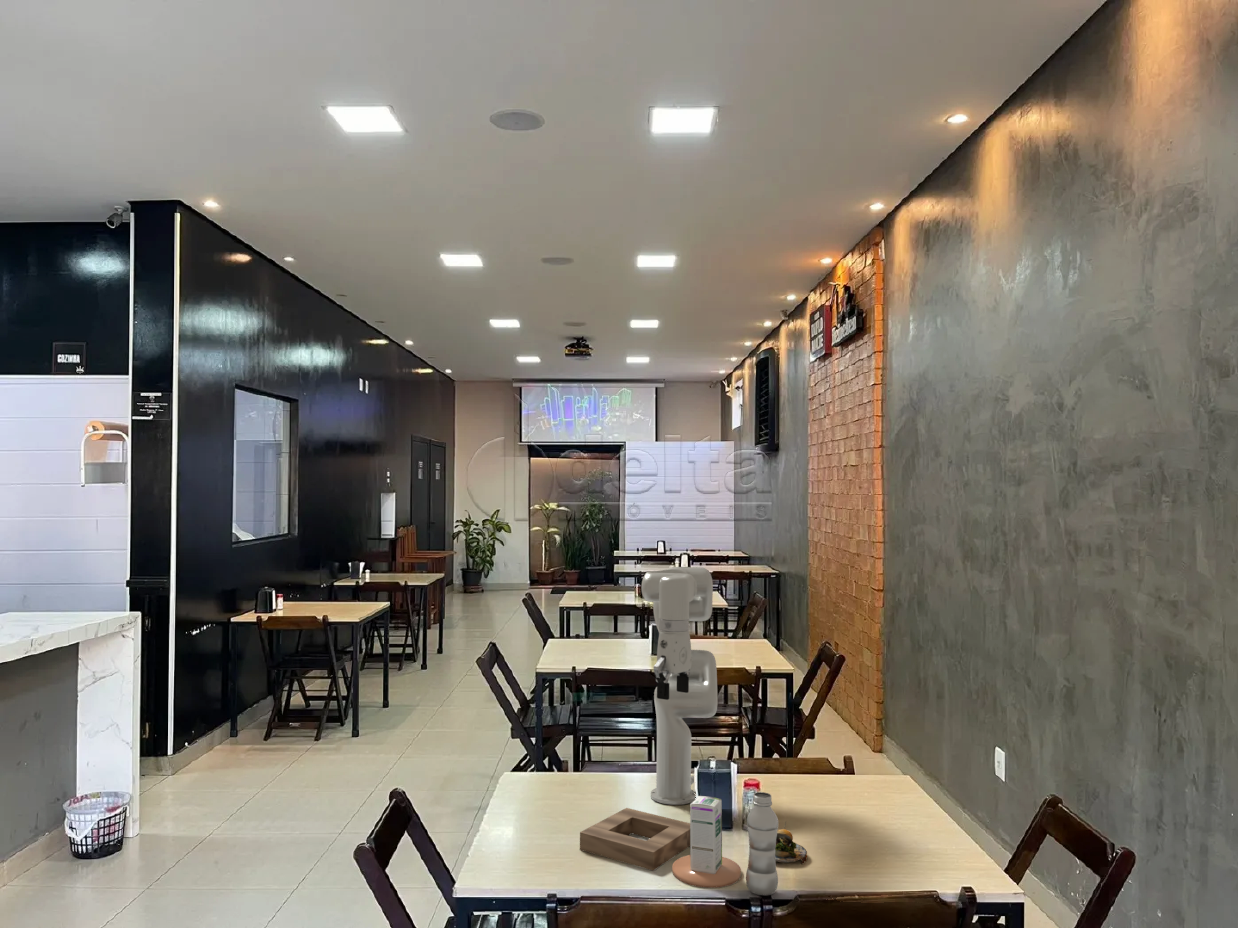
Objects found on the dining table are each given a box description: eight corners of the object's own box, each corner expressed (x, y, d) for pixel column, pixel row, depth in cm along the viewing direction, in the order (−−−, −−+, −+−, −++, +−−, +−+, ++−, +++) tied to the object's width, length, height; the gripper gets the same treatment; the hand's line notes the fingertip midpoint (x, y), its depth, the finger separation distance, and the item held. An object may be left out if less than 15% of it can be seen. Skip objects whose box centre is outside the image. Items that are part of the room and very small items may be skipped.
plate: (692, 853, 198) (692, 848, 198) (752, 868, 189) (752, 864, 189) (659, 875, 185) (659, 871, 185) (721, 893, 177) (721, 888, 177)
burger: (744, 854, 198) (744, 821, 198) (778, 843, 205) (779, 811, 205) (783, 872, 188) (783, 838, 189) (818, 859, 196) (818, 826, 196)
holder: (626, 823, 215) (626, 807, 216) (696, 841, 204) (696, 824, 205) (579, 849, 199) (579, 832, 199) (653, 870, 188) (653, 852, 188)
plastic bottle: (753, 882, 182) (754, 787, 184) (783, 891, 179) (783, 793, 180) (740, 893, 177) (740, 795, 178) (770, 902, 173) (770, 802, 174)
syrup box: (715, 874, 184) (716, 806, 184) (689, 870, 186) (689, 802, 187) (722, 864, 189) (722, 798, 190) (696, 860, 191) (697, 794, 192)
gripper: (669, 631, 204) (668, 703, 203) (703, 623, 218) (702, 691, 217) (642, 628, 208) (641, 699, 207) (677, 621, 222) (676, 687, 221)
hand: (673, 695), depth 212 cm, fingers open, 9 cm apart
